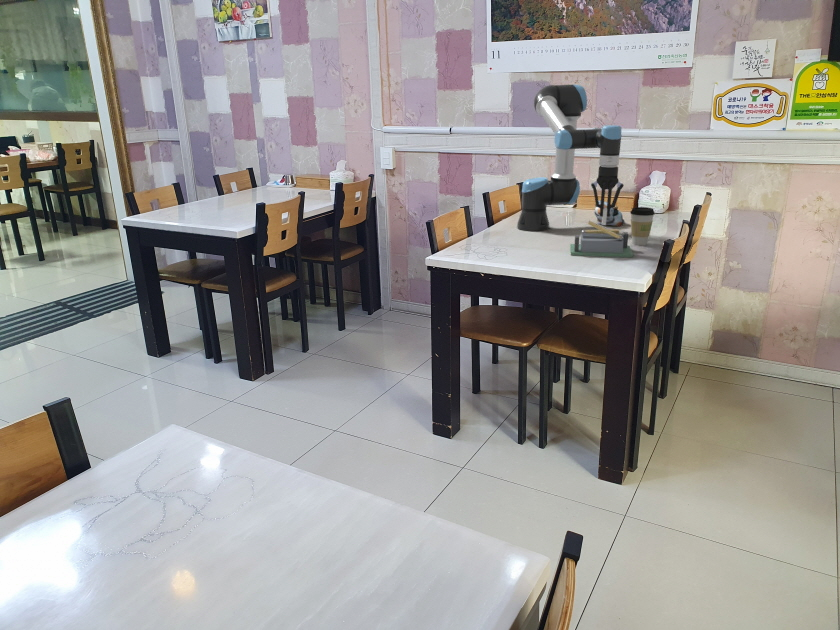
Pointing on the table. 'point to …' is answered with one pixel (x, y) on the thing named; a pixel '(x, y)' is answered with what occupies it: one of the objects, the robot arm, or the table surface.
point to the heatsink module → (601, 245)
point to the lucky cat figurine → (614, 216)
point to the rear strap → (599, 231)
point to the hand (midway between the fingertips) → (603, 224)
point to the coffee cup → (641, 224)
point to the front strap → (606, 230)
